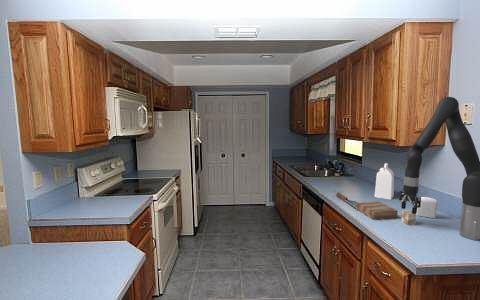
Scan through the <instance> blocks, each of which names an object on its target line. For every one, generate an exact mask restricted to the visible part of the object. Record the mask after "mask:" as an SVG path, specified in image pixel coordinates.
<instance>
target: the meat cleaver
mask: <svg viewBox="0 0 480 300" xmlns="http://www.w3.org/2000/svg"><path fill="white" fill-rule="evenodd" d="M335 196H336V197H337V198H338V199H340V200H341V201H343V202H344V203H345V202H347V203H348V204H349V205H351V206H352V207H353V208H355V209H356V210H357V209H358V208H357V203H358V202H357V201H355V200H350V199H348V197H346V195H343V193H341V192H337V193H336V195H335Z"/></svg>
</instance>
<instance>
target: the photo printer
mask: <svg viewBox="0 0 480 300" xmlns="http://www.w3.org/2000/svg"><path fill="white" fill-rule="evenodd" d="M420 197H421V196H420ZM437 209H438V200H437V199H435V198H433V197H429V196H422V197H421V207H420V208H417V213H416V217H417V216H418V217H423V218H430V219H436V218H437Z"/></svg>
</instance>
